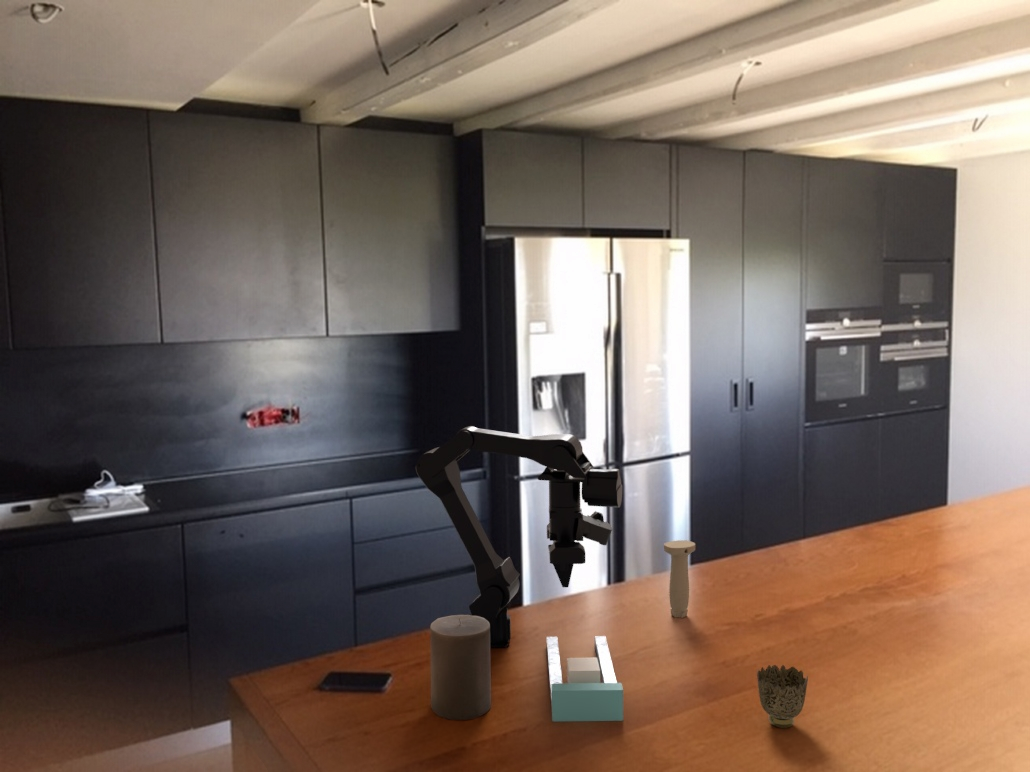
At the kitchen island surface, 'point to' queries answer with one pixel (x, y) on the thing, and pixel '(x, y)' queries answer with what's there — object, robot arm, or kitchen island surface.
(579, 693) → the track
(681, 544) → the handle
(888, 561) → the kitchen island surface
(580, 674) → the block
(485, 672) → the pillar candle
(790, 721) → the cup
